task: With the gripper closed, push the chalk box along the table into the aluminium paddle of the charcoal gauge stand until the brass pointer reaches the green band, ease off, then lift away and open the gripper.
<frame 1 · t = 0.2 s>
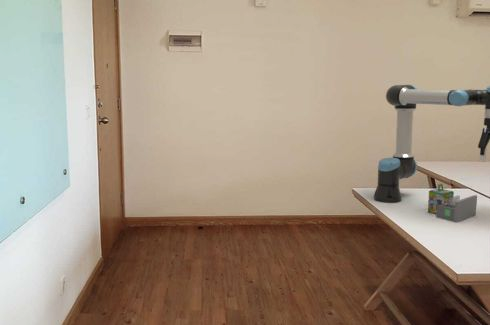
hand: (489, 160, 230), 28 cm above the table, tool pointing down, fingers open, 13 cm apart
gauge stand: (456, 216, 231), on the table
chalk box: (440, 212, 238), on the table
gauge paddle: (450, 205, 231), point 5 cm above the table, slide at 0.0 cm
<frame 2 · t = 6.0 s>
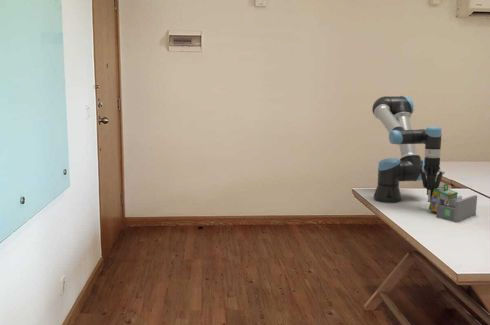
hand: (430, 201, 240), 5 cm above the table, tool pointing down, fingers closed
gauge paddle: (452, 206, 230), point 5 cm above the table, slide at 1.2 cm
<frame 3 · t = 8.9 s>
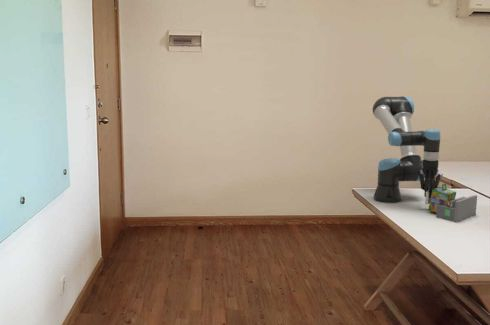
hand: (427, 203, 242), 3 cm above the table, tool pointing down, fingers closed
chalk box: (439, 211, 237), on the table, touching hand
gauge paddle: (456, 207, 229), point 5 cm above the table, slide at 2.9 cm
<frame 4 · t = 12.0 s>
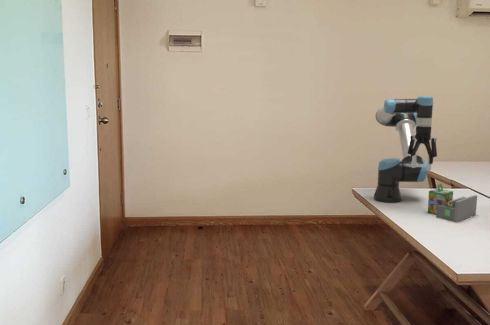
hand: (421, 168, 243), 21 cm above the table, tool pointing down, fingers open, 8 cm apart
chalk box: (439, 213, 237), on the table
everything else where it was.
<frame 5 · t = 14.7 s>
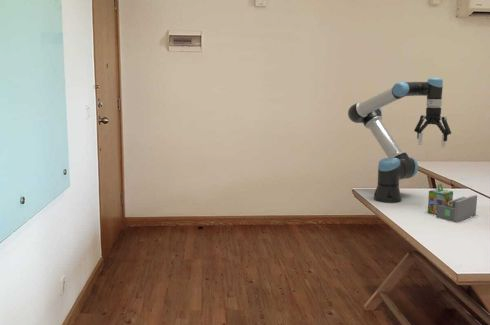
hand: (431, 146, 252), 32 cm above the table, tool pointing down, fingers open, 13 cm apart
nothing on the table moved.
at the end: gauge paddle slide at 2.9 cm; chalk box tilted 0°; the gripper is holding nothing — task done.
